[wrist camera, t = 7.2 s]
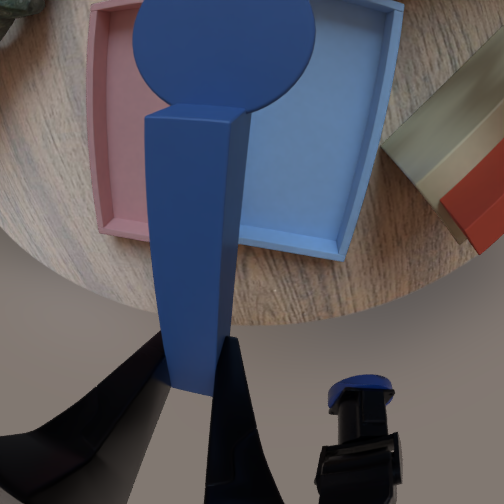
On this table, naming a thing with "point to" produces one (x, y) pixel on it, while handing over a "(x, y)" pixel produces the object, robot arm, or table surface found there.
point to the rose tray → (117, 120)
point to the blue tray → (322, 134)
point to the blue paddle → (207, 154)
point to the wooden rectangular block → (453, 129)
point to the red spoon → (480, 201)
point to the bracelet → (17, 11)
